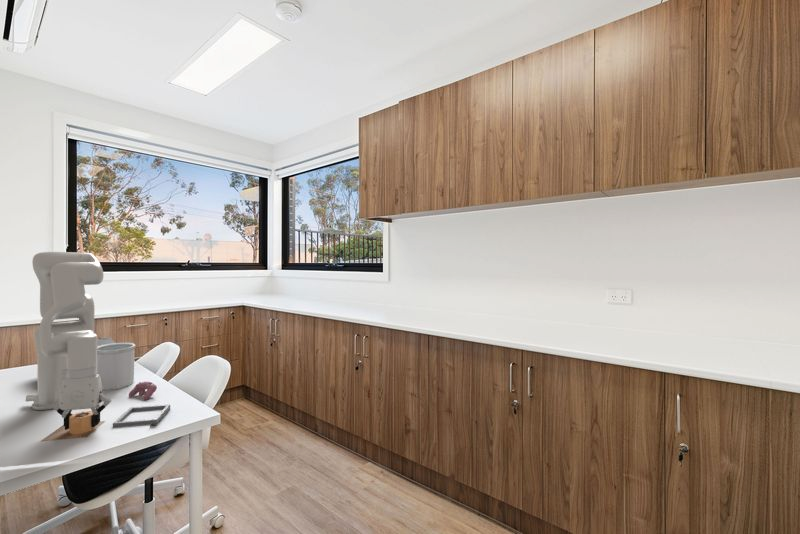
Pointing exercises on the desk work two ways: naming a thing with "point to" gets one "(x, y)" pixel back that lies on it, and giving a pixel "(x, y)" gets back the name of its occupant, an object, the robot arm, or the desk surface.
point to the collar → (80, 423)
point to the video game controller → (143, 389)
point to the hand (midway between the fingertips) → (82, 426)
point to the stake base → (65, 434)
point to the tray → (140, 422)
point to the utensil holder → (115, 365)
